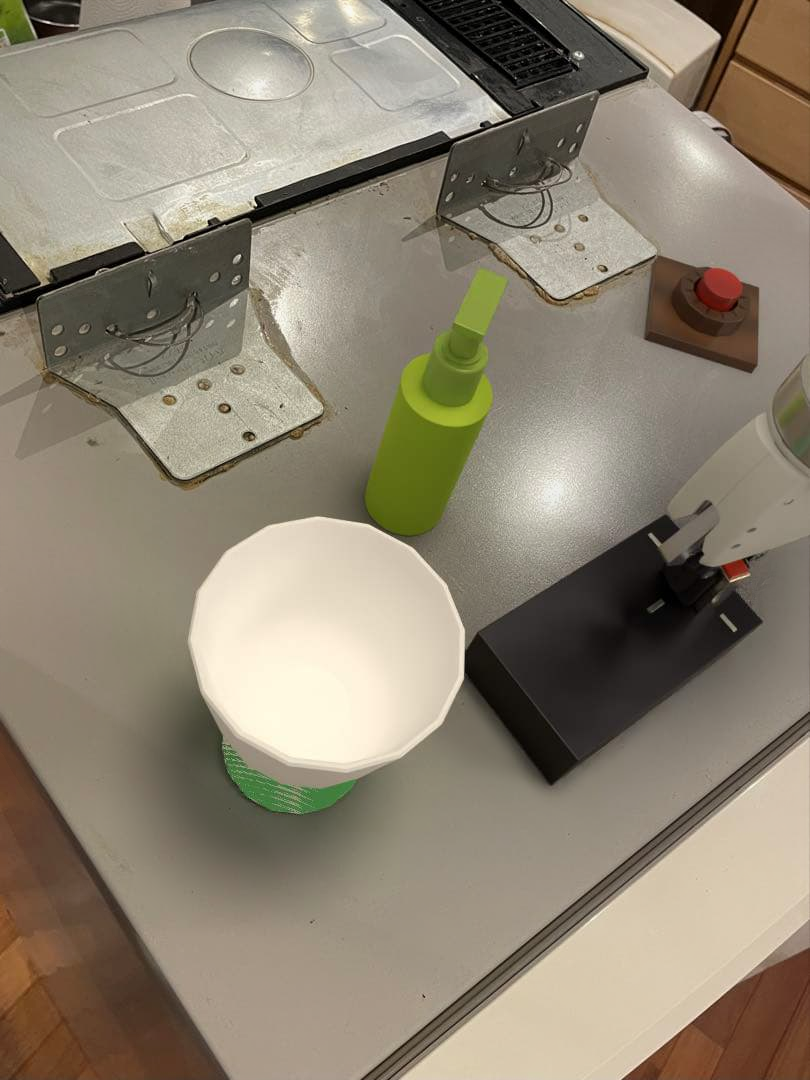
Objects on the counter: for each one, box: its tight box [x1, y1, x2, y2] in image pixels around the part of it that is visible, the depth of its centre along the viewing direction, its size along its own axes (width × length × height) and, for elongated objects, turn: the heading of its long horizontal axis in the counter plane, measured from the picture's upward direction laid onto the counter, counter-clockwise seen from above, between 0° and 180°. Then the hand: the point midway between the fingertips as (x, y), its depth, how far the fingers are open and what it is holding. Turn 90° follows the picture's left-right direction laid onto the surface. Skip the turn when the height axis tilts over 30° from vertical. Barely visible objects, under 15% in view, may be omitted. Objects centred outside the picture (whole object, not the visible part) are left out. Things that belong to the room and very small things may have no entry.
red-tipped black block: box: [693, 543, 751, 613], centre depth 66 cm, size 4×2×5 cm, turn 24°
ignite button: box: [695, 267, 742, 312], centre depth 86 cm, size 4×4×2 cm
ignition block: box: [644, 254, 760, 374], centre depth 88 cm, size 10×10×3 cm
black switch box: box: [464, 513, 764, 786], centre depth 67 cm, size 20×10×5 cm, turn 127°
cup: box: [187, 515, 466, 815], centre depth 55 cm, size 14×14×16 cm
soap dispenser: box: [364, 266, 510, 537], centre depth 64 cm, size 6×7×20 cm
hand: (691, 580), depth 68 cm, fingers closed on red-tipped black block, 2 cm apart
